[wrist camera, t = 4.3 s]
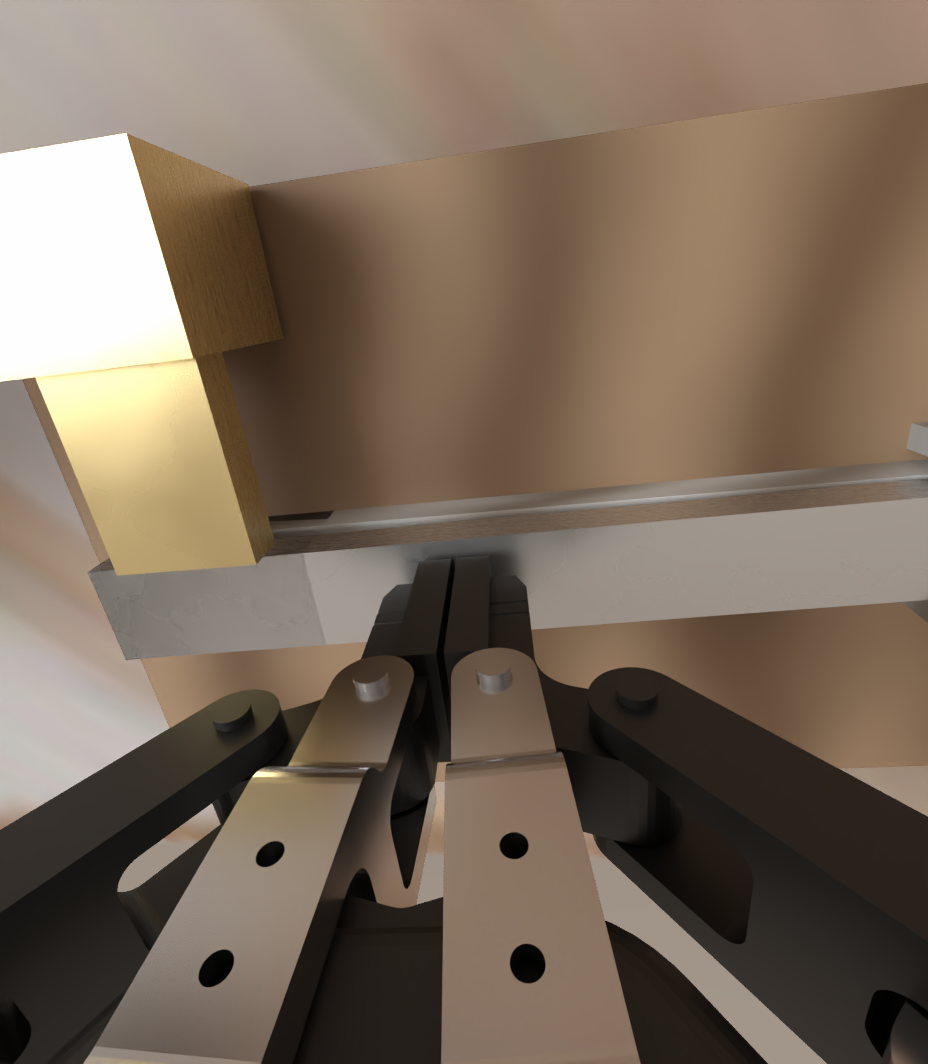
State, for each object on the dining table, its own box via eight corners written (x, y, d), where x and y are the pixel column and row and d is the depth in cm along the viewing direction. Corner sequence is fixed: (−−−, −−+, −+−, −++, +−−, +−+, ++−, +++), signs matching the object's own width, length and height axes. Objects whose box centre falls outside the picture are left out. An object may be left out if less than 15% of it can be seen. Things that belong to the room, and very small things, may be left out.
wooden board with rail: (1097, 75, 11) (1429, -46, 7) (918, 727, 18) (1037, 852, 14) (14, 237, 13) (-186, 215, 10) (216, 756, 20) (147, 868, 16)
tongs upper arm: (1002, 471, 12) (1047, 486, 11) (973, 571, 13) (1011, 593, 12) (115, 553, 13) (88, 572, 12) (149, 636, 14) (125, 659, 13)
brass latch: (248, 184, 11) (126, 132, 8) (322, 503, 14) (258, 578, 10) (86, 209, 12) (-104, 171, 8) (189, 514, 14) (83, 591, 11)
